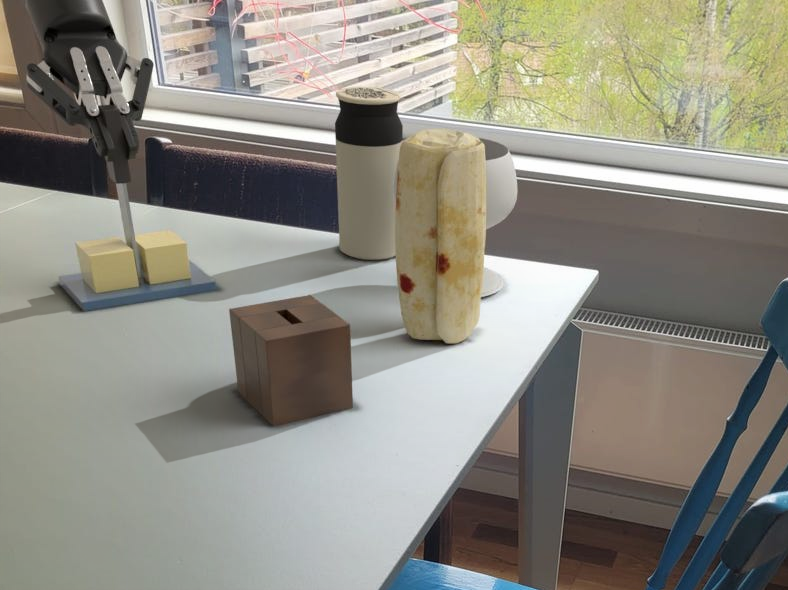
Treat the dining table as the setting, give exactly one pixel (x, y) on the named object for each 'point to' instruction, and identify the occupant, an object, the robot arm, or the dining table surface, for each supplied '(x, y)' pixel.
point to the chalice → (494, 198)
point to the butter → (133, 271)
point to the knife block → (292, 359)
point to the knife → (120, 173)
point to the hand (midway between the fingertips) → (122, 155)
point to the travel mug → (367, 170)
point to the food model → (440, 233)
